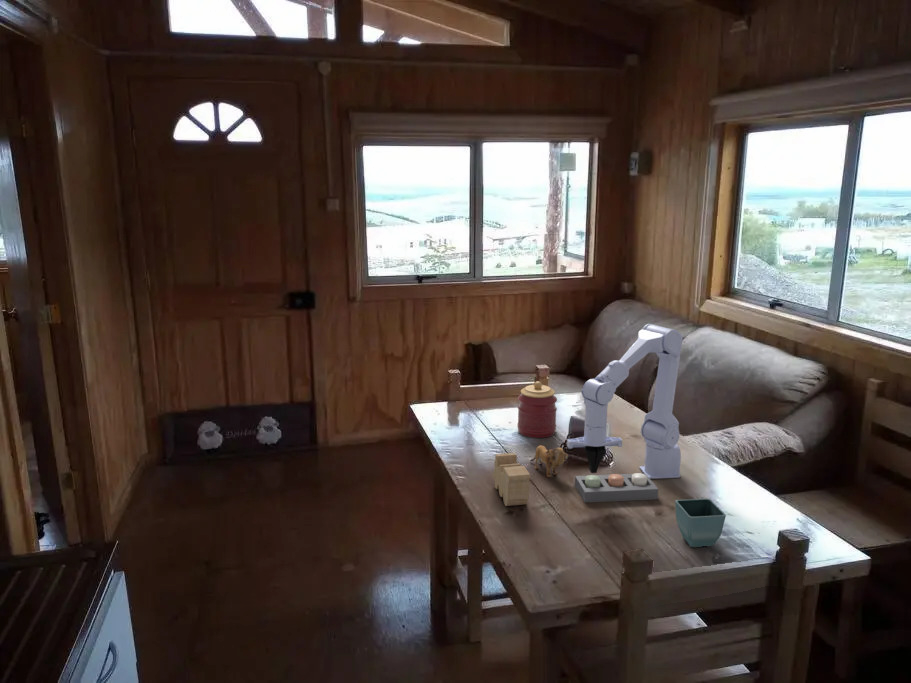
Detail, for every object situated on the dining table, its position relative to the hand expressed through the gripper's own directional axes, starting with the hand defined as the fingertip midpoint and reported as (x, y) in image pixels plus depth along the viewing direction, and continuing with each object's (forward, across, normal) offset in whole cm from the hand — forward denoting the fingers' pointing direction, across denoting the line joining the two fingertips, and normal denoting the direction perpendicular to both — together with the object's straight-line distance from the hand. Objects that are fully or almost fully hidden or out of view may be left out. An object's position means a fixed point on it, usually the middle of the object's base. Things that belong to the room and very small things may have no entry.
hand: (593, 471), depth 186 cm
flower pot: (+7, -18, +27) cm, 33 cm away
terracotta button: (+5, -7, 0) cm, 8 cm away
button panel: (+6, -7, 0) cm, 9 cm away
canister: (+7, +5, -47) cm, 48 cm away
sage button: (+5, 0, 0) cm, 5 cm away
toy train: (+7, +22, -1) cm, 23 cm away
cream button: (+5, -13, 0) cm, 14 cm away
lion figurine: (+7, +9, -16) cm, 19 cm away
